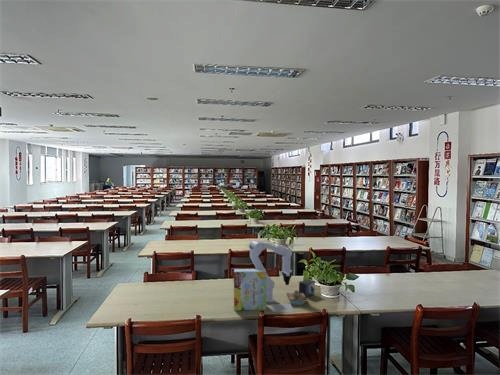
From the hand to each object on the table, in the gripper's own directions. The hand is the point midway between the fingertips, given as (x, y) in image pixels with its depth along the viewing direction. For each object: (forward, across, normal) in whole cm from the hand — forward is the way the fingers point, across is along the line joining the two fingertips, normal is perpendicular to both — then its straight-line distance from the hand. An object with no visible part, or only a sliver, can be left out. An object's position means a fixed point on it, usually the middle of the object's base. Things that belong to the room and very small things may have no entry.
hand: (286, 283), depth 252 cm
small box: (+11, +4, -16) cm, 20 cm away
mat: (+10, -21, +6) cm, 24 cm away
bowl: (+10, -11, -6) cm, 16 cm away
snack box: (+10, -20, +27) cm, 35 cm away
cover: (+6, -11, -6) cm, 14 cm away
